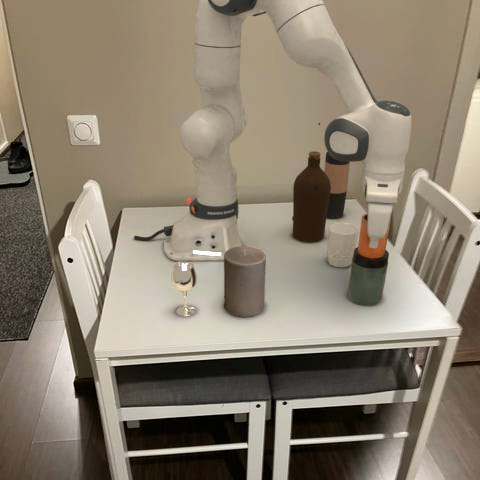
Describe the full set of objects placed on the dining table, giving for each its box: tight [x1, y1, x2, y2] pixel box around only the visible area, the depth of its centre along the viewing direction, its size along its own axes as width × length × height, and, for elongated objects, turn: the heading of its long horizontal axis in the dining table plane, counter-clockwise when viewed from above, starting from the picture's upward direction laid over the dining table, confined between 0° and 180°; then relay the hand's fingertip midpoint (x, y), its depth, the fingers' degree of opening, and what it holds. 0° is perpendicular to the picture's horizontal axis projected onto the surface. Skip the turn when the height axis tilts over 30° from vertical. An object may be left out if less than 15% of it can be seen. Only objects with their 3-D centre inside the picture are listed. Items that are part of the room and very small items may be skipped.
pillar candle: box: [223, 245, 267, 318], centre depth 128 cm, size 10×10×15 cm
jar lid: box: [353, 246, 390, 268], centre depth 130 cm, size 8×8×2 cm
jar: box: [347, 258, 389, 307], centre depth 133 cm, size 8×8×12 cm
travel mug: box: [323, 151, 351, 220], centre depth 174 cm, size 8×8×20 cm
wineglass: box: [170, 261, 198, 317], centre depth 127 cm, size 6×6×12 cm
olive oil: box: [291, 150, 331, 244], centre depth 159 cm, size 11×11×25 cm
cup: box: [357, 213, 391, 258], centre depth 127 cm, size 6×6×8 cm
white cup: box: [327, 222, 360, 268], centre depth 149 cm, size 8×8×10 cm
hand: (373, 239), depth 127 cm, fingers closed on cup, 6 cm apart
